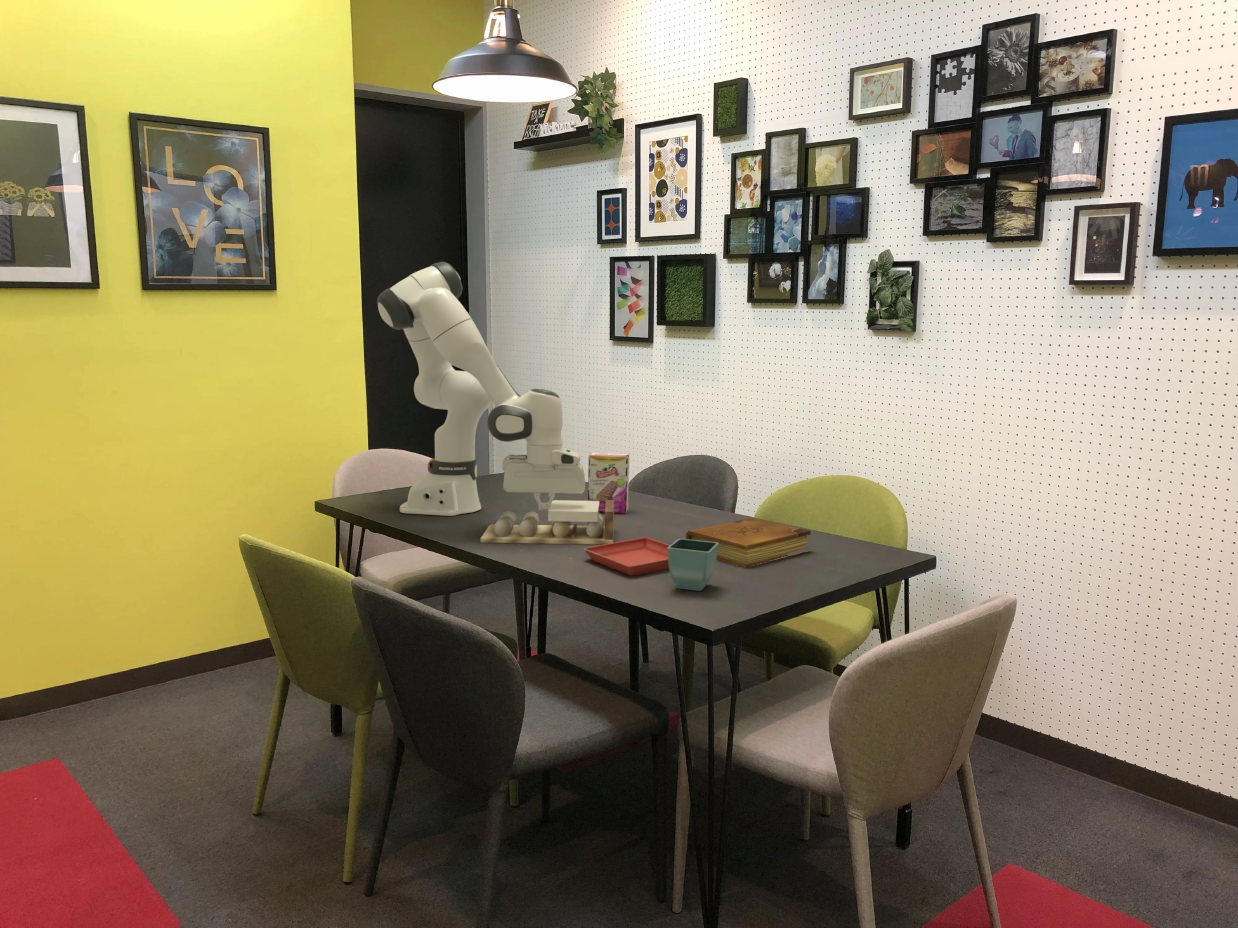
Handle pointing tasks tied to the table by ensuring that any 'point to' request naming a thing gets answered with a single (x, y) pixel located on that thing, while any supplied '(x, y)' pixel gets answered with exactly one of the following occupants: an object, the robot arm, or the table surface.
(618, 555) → the plant saucer
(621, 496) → the candy bar box
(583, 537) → the roller bed
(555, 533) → the roller
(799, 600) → the table surface
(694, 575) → the flower pot
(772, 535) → the diary
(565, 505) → the slab
